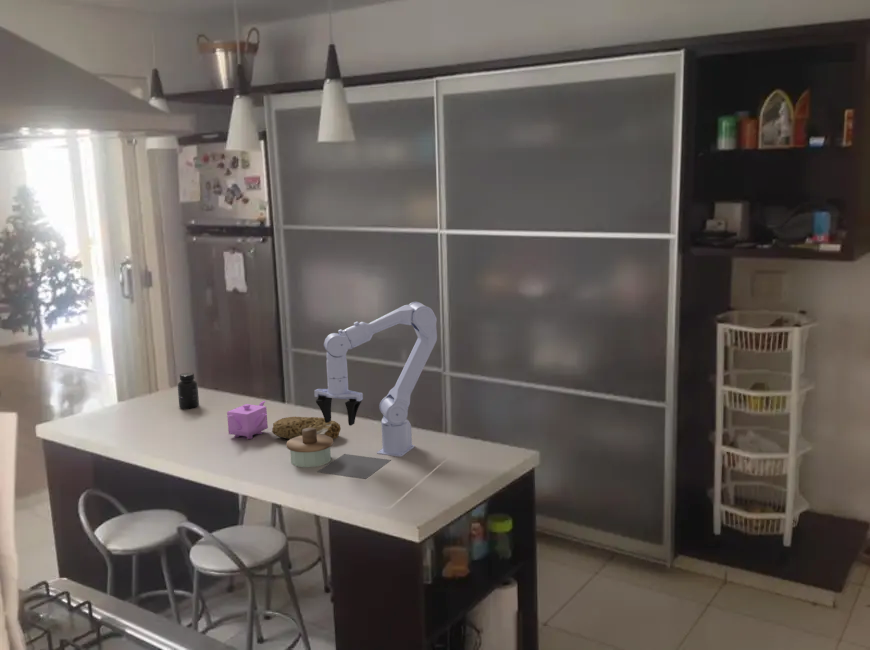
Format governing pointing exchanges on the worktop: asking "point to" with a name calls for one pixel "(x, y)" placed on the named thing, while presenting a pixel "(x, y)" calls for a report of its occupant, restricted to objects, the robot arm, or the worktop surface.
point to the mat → (354, 466)
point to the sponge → (295, 425)
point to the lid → (309, 441)
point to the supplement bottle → (188, 391)
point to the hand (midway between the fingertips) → (339, 423)
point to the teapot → (247, 420)
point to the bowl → (310, 458)
